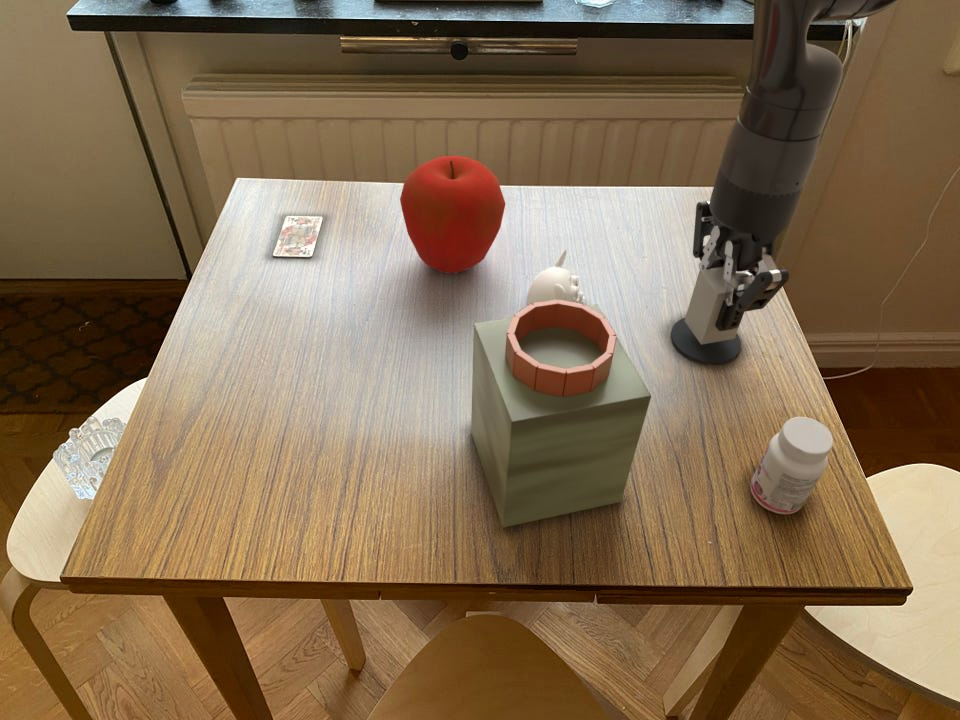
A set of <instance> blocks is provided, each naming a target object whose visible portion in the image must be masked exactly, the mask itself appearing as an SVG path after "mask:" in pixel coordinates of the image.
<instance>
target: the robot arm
mask: <svg viewBox="0 0 960 720" xmlns="http://www.w3.org/2000/svg"><path fill="white" fill-rule="evenodd" d="M899 1H900V0H753V32H752V52H751V53H752V54H751V66H750V72H749V76H748V79H747V83H746V86H745V89H744V93H743V97H742V100H741V103H740V107H739V110H738V114H737V115H736V118H735V121H734V124H733V126H732V128H731V130H730V131H729V135H728V138H727V141H726V144H725V147H724V150H723V154H722V158H721V161H720V165H719V167H718V171H717V175H716V177H715V181H714V185H713V189H712V190H711V191H712V192H711V195H710V198H709V200H704V201H699V202H697V203H696V206H695V217H694V218H695V219H694V231H693V242H692V255H693V257H694V258H695V259H699V263H698V264H699V265H698V268H699V269H698V270H699V271H700V270H705V269H712V268H718V267H725V270H724V277H723V279H724V281H725V282H727V287H726V294H725V300H724V301H723V304H722V307H721V310H720V313H719V315H718V318H717V321H716V324H715V326H716V328H717V329H718V330H719V331H725V330H731V329H734V328H737V327H738V326H739V327H740V324H741V322H742V320H741V318H742V319H743V317H744V315H745V313H746V312H750V311H756V310H763V309H764V308H765V307H766V306H767V305H768V304H769V302H770V301H772V299H773V298H774V297H775V296H776V294H777V293H778V292H779V291H780V290H781V289H782V288H783V287H784V286H785V284H786V283H787V282H789V279H790V273H789V271H788V270H787V269H786V268H782V269H781V268H780V269H778V267H777V265H776V263H775V261H774V259H773V257H774V254H775V247H776V246H775V244H776V238H777V237H778V235H780V233H782V231H784V230H785V229H786V228H787V227H788V226H789V224H790V223H791V222H792V218H793V217H794V213H795V211H796V208H797V205H798V203H799V200H800V198H801V196H802V194H803V191H804V187H805V185H806V182H807V180H808V177H809V175H810V174H811V173H810V172H811V170H812V167H813V165H814V162H815V160H816V156H817V153H818V148H819V145H820V139H821V137H822V133H823V131H824V128H825V126H826V124H827V121H828V118H829V115H830V113H831V110H832V108H833V105H834V103H835V99H836V97H837V95H838V92H839V89H840V86H841V83H842V80H843V75H844V66H843V63H842V61H841V59H840V58H839V56H837V55H836V53H834V52H833V51H831V50H829V49H827V48H825V47H821V46H818V45H816V44H811V43H808V42H807V35H808V31H809V28H810V25H811V23H817V22H818V23H819V22H833V21H855V20H860V19H861V20H862V19H865V18H869V17H871V16H874V15H876V14H879V13H881V12H884V11H885V10H887V9H889V8H891V7H892V6H894V5H895V4H897V3H898V2H899ZM707 236H709V239H708V240H707V242H706V244H705V245H704V243H705V242H704V239H705V237H707ZM736 271H738V272H740V273H736ZM742 284H744V287H743V292H737V290H738V286H739V285H742ZM740 321H741V322H740Z"/></svg>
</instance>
